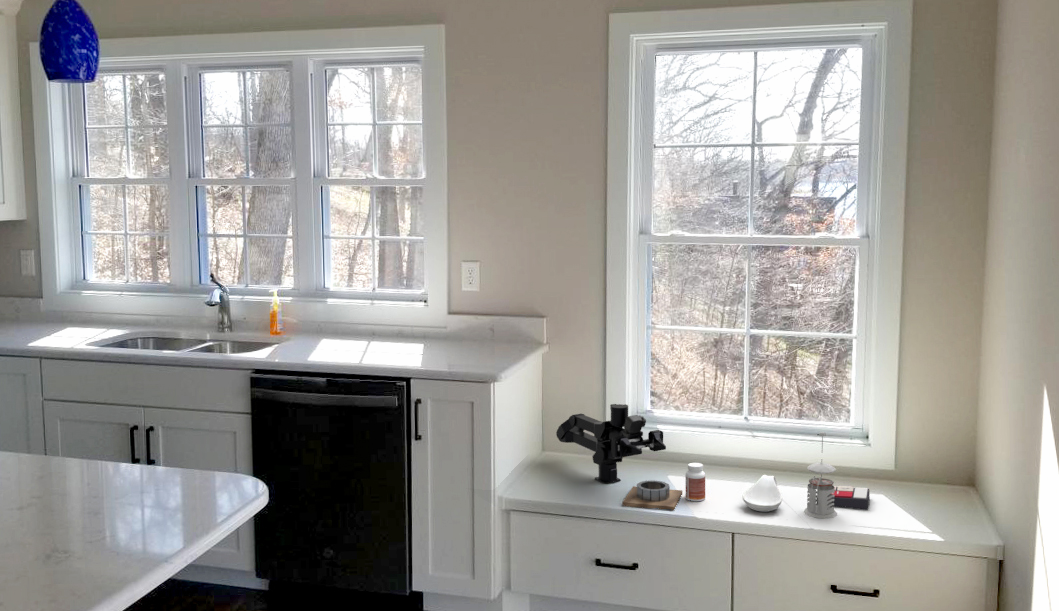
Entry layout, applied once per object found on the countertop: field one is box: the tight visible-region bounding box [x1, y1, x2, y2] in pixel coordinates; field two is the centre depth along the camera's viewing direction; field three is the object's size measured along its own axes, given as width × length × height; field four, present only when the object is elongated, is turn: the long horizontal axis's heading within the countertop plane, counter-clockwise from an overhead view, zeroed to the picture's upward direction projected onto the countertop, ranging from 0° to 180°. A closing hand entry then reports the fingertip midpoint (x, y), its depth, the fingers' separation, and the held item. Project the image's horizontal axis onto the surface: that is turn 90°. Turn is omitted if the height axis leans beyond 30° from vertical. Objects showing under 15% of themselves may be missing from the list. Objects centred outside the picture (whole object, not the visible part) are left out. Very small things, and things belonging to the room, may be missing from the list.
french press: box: [803, 431, 838, 519], centre depth 291 cm, size 10×12×25 cm
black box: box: [816, 485, 871, 511], centre depth 302 cm, size 11×4×15 cm
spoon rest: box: [742, 474, 783, 513], centre depth 303 cm, size 24×12×7 cm, turn 160°
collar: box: [636, 479, 671, 502], centre depth 306 cm, size 10×10×4 cm
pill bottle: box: [685, 462, 706, 502], centre depth 307 cm, size 6×6×11 cm
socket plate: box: [622, 485, 683, 511], centre depth 307 cm, size 16×16×1 cm
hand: (653, 450), depth 303 cm, fingers open, 9 cm apart
